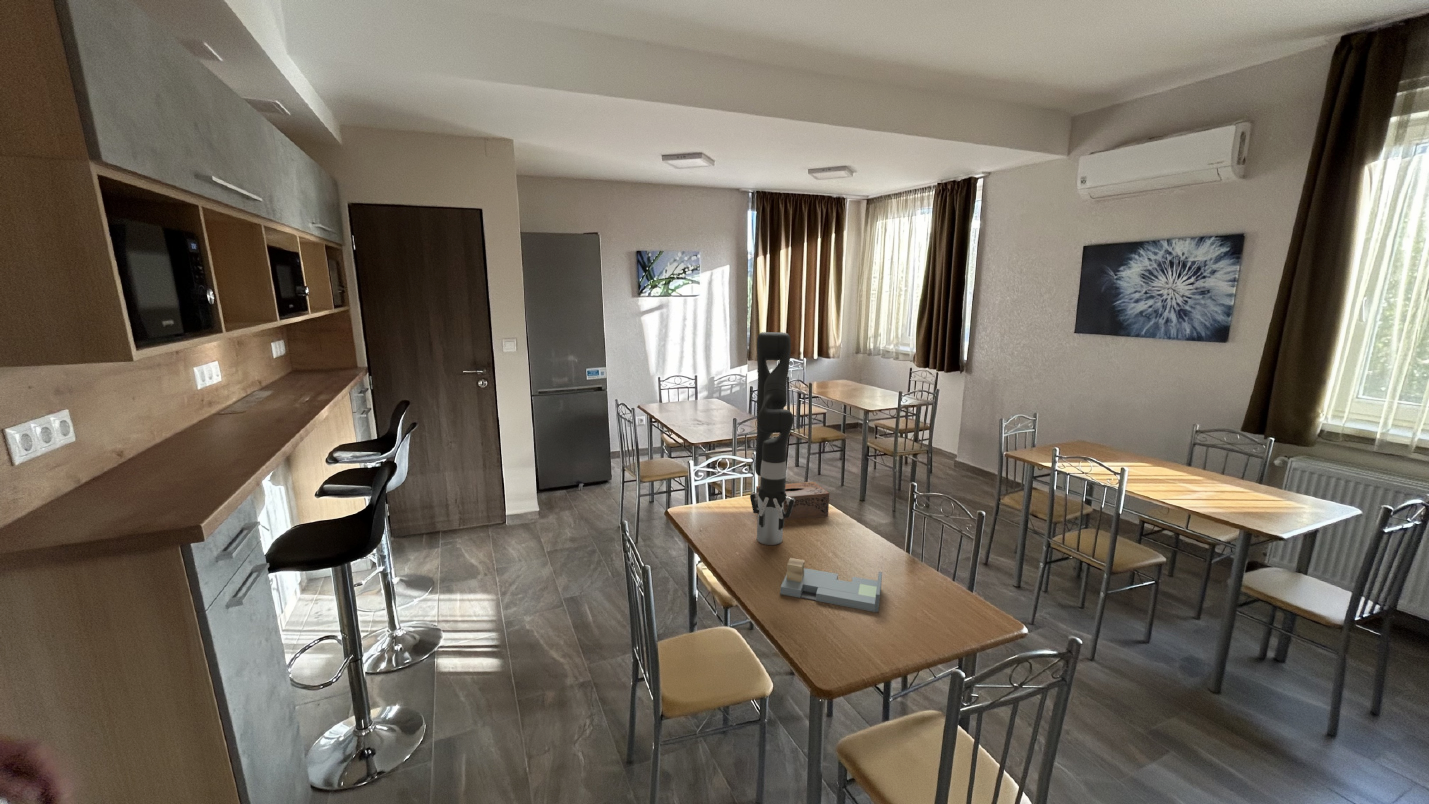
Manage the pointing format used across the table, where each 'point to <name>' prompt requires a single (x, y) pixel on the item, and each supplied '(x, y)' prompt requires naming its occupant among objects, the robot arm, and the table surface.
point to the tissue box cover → (806, 500)
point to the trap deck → (835, 590)
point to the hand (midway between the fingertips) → (771, 527)
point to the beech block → (795, 569)
